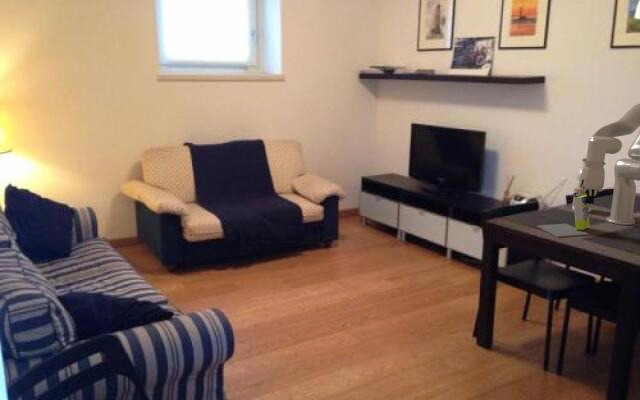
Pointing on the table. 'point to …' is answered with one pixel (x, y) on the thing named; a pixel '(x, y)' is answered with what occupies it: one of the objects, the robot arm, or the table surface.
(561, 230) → the mat
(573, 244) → the table surface
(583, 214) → the box
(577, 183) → the fruit juice
